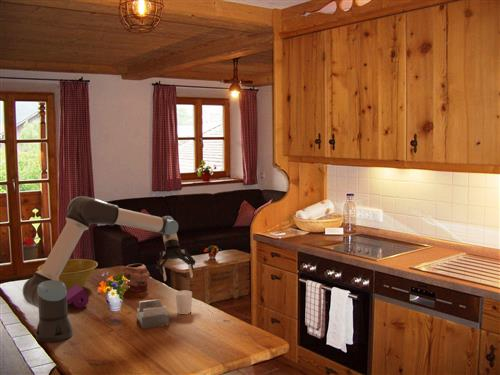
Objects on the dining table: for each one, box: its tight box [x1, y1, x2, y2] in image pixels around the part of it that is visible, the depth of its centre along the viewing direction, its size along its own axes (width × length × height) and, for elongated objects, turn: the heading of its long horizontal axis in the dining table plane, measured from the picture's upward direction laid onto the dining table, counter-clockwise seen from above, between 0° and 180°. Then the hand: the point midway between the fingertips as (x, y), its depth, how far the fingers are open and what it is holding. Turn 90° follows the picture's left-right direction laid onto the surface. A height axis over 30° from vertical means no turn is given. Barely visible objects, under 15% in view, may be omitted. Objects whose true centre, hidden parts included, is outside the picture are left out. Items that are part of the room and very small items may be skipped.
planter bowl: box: [37, 258, 99, 291], centre depth 302 cm, size 32×32×13 cm
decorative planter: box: [123, 263, 151, 292], centre depth 300 cm, size 20×12×14 cm, turn 54°
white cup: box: [175, 289, 193, 315], centre depth 261 cm, size 8×8×10 cm
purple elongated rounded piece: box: [67, 285, 90, 309], centre depth 271 cm, size 10×8×18 cm
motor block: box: [136, 298, 170, 330], centre depth 249 cm, size 14×12×8 cm
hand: (178, 278), depth 269 cm, fingers open, 13 cm apart
